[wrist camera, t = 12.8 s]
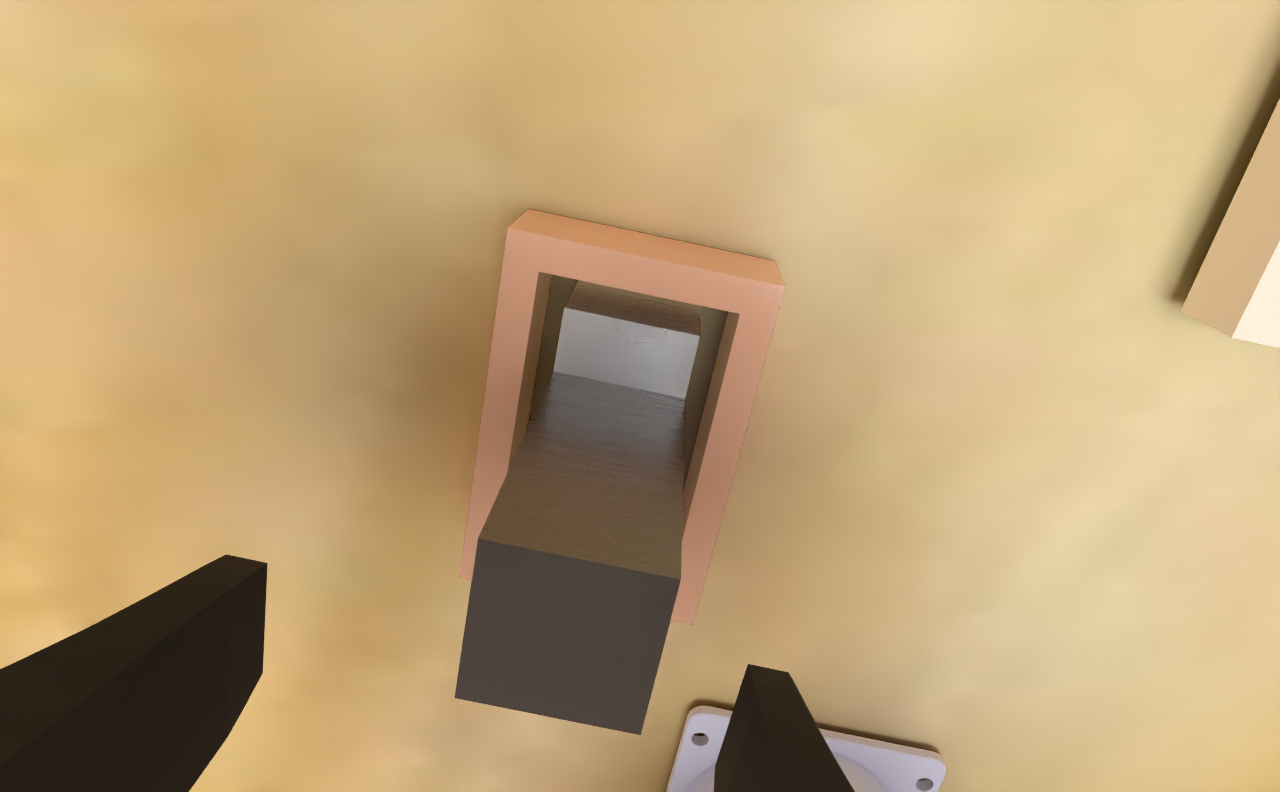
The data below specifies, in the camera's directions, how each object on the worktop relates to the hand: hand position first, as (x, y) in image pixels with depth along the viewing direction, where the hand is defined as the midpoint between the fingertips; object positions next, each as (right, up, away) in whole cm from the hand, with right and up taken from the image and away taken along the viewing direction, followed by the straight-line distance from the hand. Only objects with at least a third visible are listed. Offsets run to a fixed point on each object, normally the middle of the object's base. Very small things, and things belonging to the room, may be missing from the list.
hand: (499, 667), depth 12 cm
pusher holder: (+2, +4, +10) cm, 10 cm away
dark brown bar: (+2, +4, +10) cm, 11 cm away
